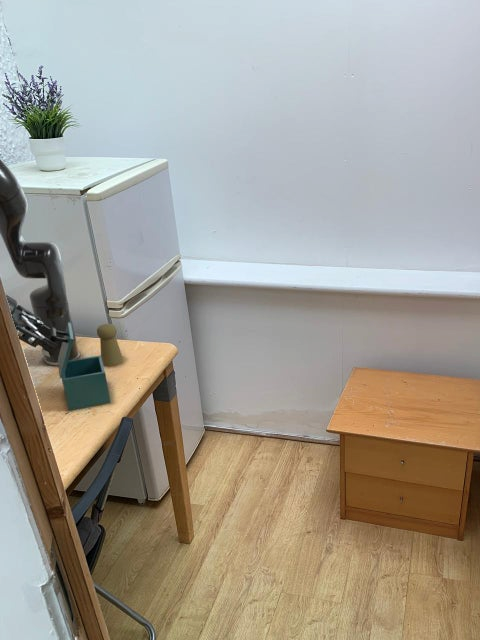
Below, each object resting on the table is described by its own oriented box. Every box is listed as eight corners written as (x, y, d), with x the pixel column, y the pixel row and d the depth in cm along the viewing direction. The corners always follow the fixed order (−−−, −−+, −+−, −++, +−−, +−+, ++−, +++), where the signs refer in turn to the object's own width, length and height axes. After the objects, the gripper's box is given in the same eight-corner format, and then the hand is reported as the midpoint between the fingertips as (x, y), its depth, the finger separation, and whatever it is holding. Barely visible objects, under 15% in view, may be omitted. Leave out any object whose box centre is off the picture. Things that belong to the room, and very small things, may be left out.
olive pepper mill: (117, 367, 169) (110, 331, 163) (97, 365, 170) (90, 329, 164) (126, 357, 174) (121, 322, 168) (107, 355, 175) (100, 320, 169)
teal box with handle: (71, 322, 149) (50, 318, 147) (73, 339, 141) (52, 334, 139) (61, 360, 153) (40, 356, 151) (63, 378, 145) (41, 374, 143)
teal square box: (106, 384, 161) (100, 355, 156) (110, 403, 153) (105, 372, 148) (66, 391, 158) (59, 361, 153) (69, 410, 150) (61, 380, 145)
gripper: (-3, 302, 129) (66, 343, 139) (-1, 280, 141) (63, 319, 150) (-24, 329, 130) (47, 367, 140) (-20, 304, 142) (45, 342, 152)
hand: (55, 342), depth 145 cm, fingers open, 7 cm apart
